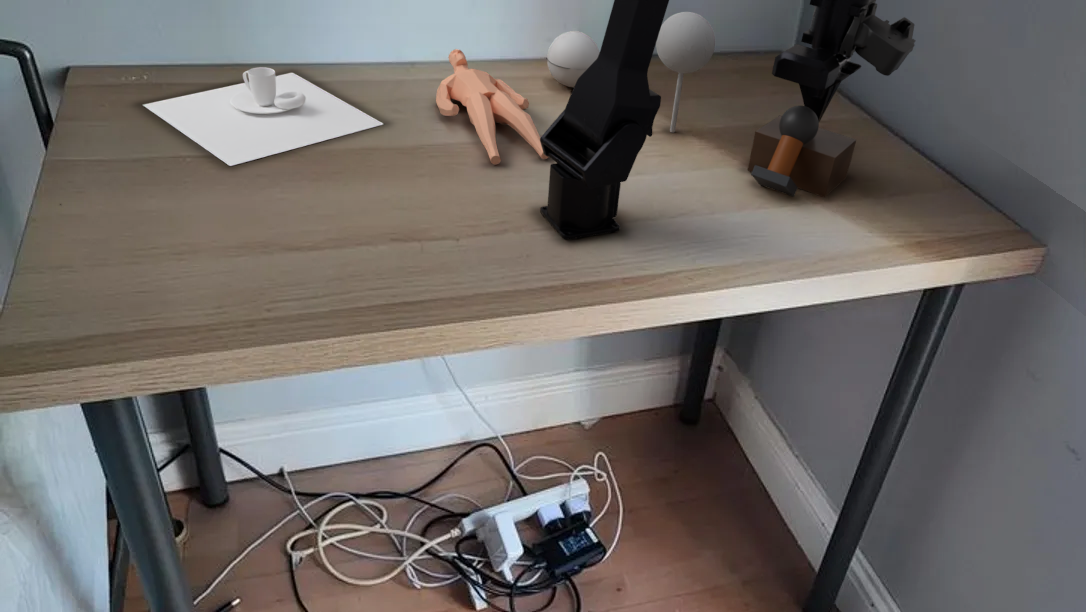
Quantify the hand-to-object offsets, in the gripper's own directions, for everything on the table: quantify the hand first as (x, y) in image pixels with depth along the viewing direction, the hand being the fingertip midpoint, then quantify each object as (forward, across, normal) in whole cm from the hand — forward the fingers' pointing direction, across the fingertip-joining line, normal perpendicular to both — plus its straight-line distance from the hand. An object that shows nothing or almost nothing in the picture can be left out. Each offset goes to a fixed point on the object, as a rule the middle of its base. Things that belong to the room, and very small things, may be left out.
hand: (813, 123), depth 112 cm
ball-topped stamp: (+6, -7, 0) cm, 9 cm away
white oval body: (+6, +1, +34) cm, 35 cm away
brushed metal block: (+6, -2, 0) cm, 6 cm away
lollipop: (+6, -2, +17) cm, 18 cm away
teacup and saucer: (+6, -34, +56) cm, 65 cm away
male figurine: (+6, -16, +36) cm, 40 cm away
